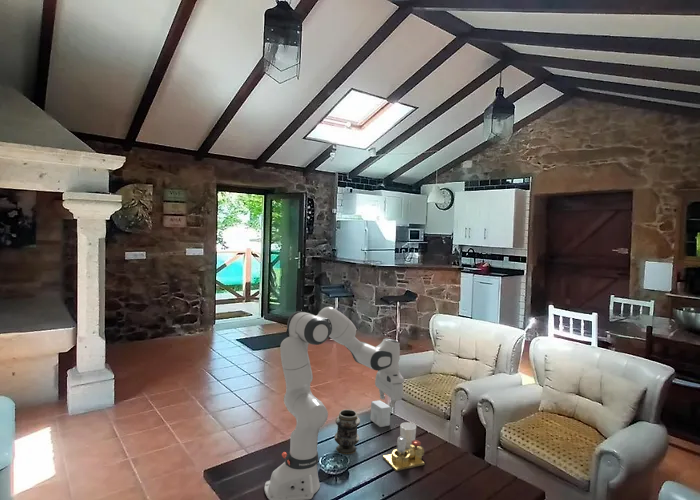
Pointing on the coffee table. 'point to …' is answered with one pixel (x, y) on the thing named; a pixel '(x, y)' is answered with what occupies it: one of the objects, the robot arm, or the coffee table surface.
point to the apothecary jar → (347, 431)
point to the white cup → (408, 432)
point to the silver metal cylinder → (401, 446)
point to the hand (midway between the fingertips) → (387, 402)
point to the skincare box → (380, 413)
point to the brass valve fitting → (406, 457)
